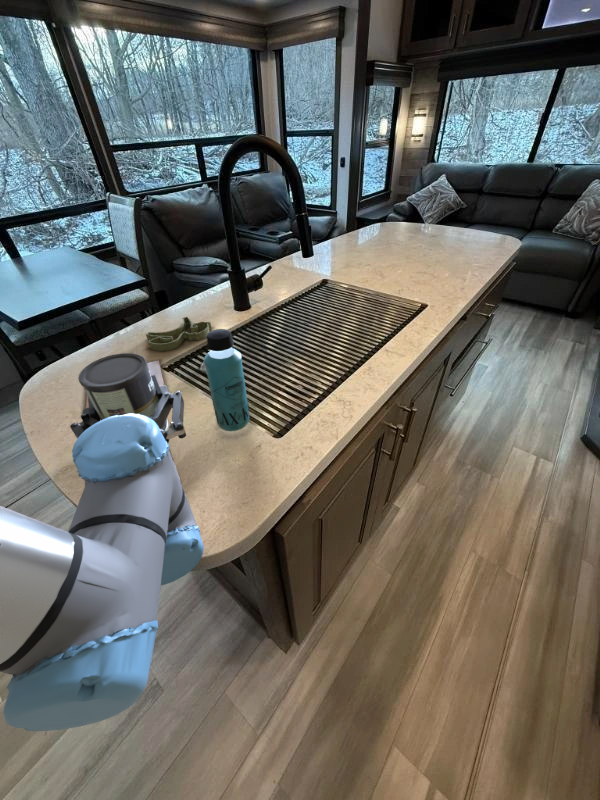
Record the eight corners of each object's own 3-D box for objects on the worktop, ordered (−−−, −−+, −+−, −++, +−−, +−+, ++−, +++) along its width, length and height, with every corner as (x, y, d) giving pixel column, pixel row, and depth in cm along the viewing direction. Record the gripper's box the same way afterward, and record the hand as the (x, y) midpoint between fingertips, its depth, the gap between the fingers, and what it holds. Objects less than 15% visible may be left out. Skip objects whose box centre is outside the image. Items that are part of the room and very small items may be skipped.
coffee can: (160, 406, 68) (138, 346, 60) (175, 435, 62) (153, 372, 53) (106, 426, 64) (74, 364, 55) (116, 459, 57) (82, 395, 48)
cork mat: (85, 416, 68) (85, 415, 67) (88, 376, 79) (88, 375, 79) (166, 395, 73) (166, 395, 73) (158, 360, 84) (158, 360, 84)
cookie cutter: (192, 320, 103) (191, 314, 101) (218, 330, 97) (217, 324, 96) (140, 342, 92) (137, 336, 90) (165, 356, 86) (163, 349, 84)
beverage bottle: (210, 429, 64) (187, 336, 52) (234, 410, 68) (218, 320, 56) (235, 442, 61) (217, 347, 49) (258, 422, 65) (247, 330, 53)
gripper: (66, 523, 44) (64, 426, 59) (227, 458, 53) (189, 387, 68) (38, 489, 39) (43, 392, 55) (220, 423, 48) (181, 356, 63)
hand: (124, 389), depth 61 cm, fingers closed on coffee can, 10 cm apart
